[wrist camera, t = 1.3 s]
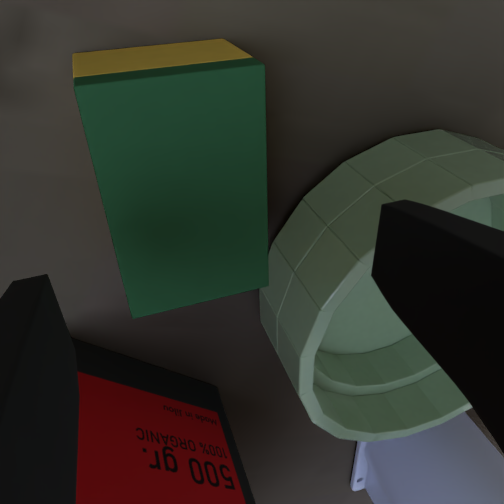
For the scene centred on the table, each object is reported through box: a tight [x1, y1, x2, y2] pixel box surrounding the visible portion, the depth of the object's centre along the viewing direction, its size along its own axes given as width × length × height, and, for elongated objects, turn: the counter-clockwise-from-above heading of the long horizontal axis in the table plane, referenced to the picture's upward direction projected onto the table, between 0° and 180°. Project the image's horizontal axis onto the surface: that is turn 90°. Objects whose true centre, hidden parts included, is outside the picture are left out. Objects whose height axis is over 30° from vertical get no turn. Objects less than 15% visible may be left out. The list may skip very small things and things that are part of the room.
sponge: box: [72, 39, 269, 319], centre depth 14 cm, size 7×4×4 cm, turn 2°
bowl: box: [259, 129, 504, 442], centre depth 20 cm, size 13×13×5 cm
